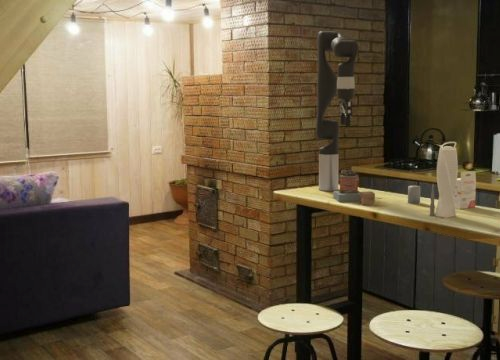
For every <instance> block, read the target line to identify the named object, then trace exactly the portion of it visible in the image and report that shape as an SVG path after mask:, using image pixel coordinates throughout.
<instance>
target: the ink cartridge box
mask: <svg viewBox="0 0 500 360" xmlns="http://www.w3.org/2000/svg"><path fill="white" fill-rule="evenodd" d="M476 188H477V175H476V171H475V170H471V171H462V172H460V177H457V181H456V186H455V190H454V193H453V198H454V205H455V209H459V210H463V209H470V208H475V207H476V196H477V195H476V194H477V193H476V190H477V189H476Z"/></svg>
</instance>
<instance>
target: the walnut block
mask: <svg viewBox="0 0 500 360" xmlns="http://www.w3.org/2000/svg"><path fill="white" fill-rule="evenodd" d="M375 196H376V194H375V192H373V191H372V190H371V191H370V190H369V191H360V201H359V204H360V205H361V206H376V205H375V204H376V202H375V201H376V200H375V199H376V197H375Z"/></svg>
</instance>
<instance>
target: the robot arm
mask: <svg viewBox="0 0 500 360" xmlns="http://www.w3.org/2000/svg"><path fill="white" fill-rule="evenodd" d="M316 46H317V49H316V50H317V81H316V83H317V85H316V87H317V89H316V90H317V92H316V95H317V97H316V98H317V109H316V111H317V112H316V122H315V123H316V124H315V135H316V136H315V137H316V139H318V140H323V141H324V140H330V141H331V142H329V144H326V145H323V146H321V147H319V150H318V190H319V191H324V192H325V191H327V192H329V191H339V153H340V151H339V141H340V139H339V138H340V125H341V126H345V127H350V126H351V118H352V116H353V102H352V101H350V100H353V99H355V93H356V92H355V88H356V87H355V84H356V83H355V66H356V65H355V64H356V60H357V57H358V53H359V49H360V46H359V43H358V42H357V40H353V39H351V40H350V39H346V38H344V37H343V35H342V34H341V33H340V32H339V31H335V30H320V31H319V32H318V34H317V39H316ZM326 52H333V54H334V55H335V57H338V58H348V60H347V61H346V62H340V63H339V64H338V65H337V76H336V73H335V72H334V70H333V68H332V67H331V65H330V64H329V62H328V59H327V55H326ZM335 97H336V99H338V100H339V101H338V103H339V104H338V115H339V116H340V117H339V118H340V122H339V121H338V119H325V120H324V117H325V114H326V111H327V109H328V108H329V106H330V104H331V103H332V101H333V100H334V99H335Z"/></svg>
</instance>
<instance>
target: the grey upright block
mask: <svg viewBox="0 0 500 360" xmlns="http://www.w3.org/2000/svg"><path fill="white" fill-rule="evenodd" d="M407 187H408V188H407V204H410V205H419V203H420V204H421V186H420V185H408V186H407Z"/></svg>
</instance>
